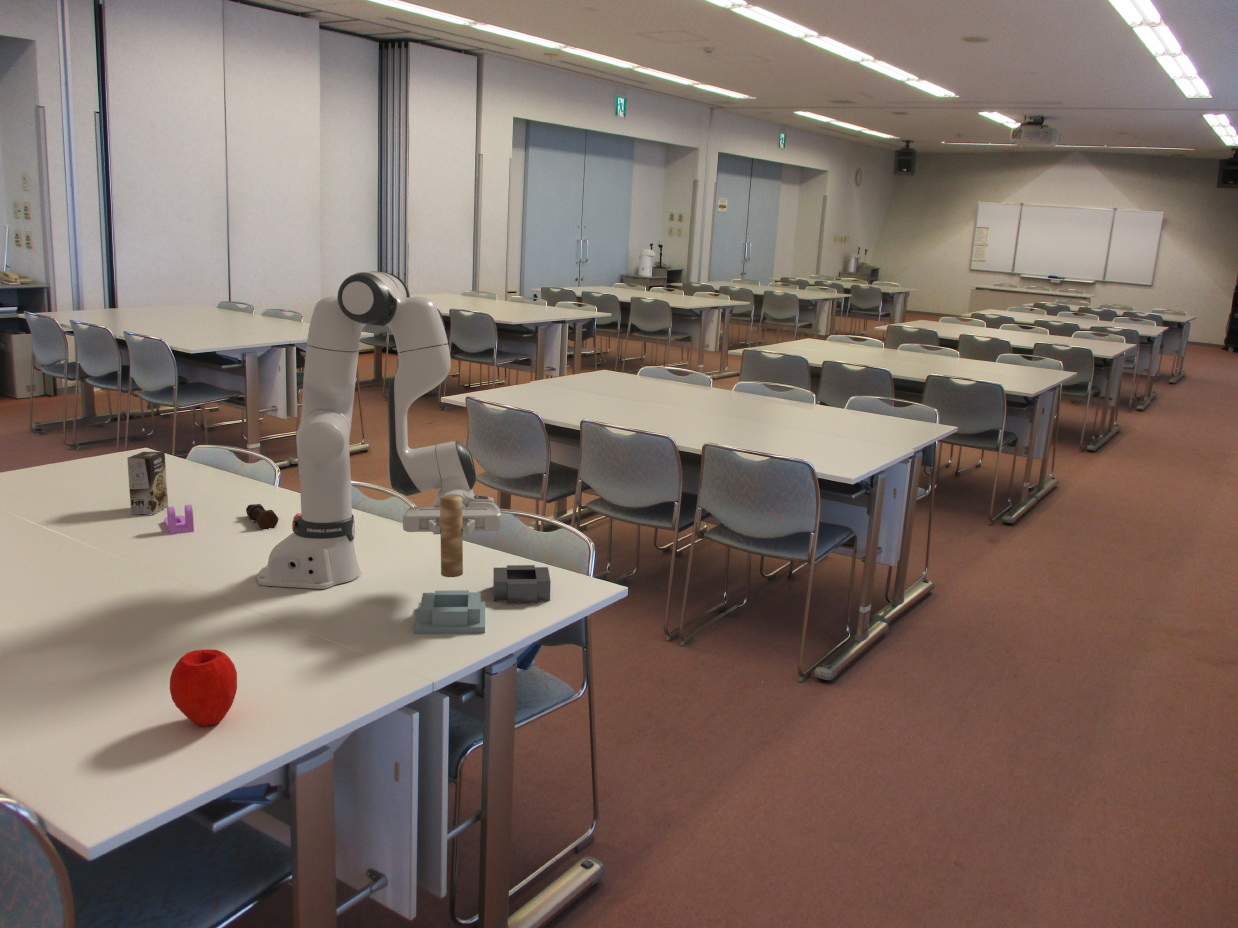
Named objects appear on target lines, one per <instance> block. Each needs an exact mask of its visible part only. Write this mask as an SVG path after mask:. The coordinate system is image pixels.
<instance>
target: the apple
mask: <svg viewBox="0 0 1238 928" xmlns="http://www.w3.org/2000/svg"><path fill="white" fill-rule="evenodd" d="M237 689H238V671H237V669H236V665H235V663H234V662H233V661H232V659H231V658H230V657H229V656H228V655H227V654H226V653H225V652H223V651H221V650H218V649H214V648H213V649H208V648H207V649H195V650H192V651H189V652H186V653H185V654H184V655H182V657H180V658H179V660H178V661H177V662H176V664H175V665H174V667H173V668H172V670H171V673H170V678H169V691H170V693H169V694H170V696H171V701H173V703H174V705H175V706H176V708H177V709H178V710H179V711H180V712H181V713H182V714H183V715H184V716H185V717H186V718H187V719H188V720H189V721H191V722H192V723H193V724H196V725H198V726H202V727H203V726H204V727H206V726H211V725H215V724H219V722H221V721H223V720H224V718H225V717H226V715H227V714H228V712H229V711H230V710H231V707H232V706H233V703H234V701H235V698H236V693H237Z"/></svg>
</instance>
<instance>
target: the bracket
mask: <svg viewBox="0 0 1238 928" xmlns="http://www.w3.org/2000/svg"><path fill="white" fill-rule="evenodd" d="M193 511H194V510H193V506H192V504H185V505H184V515H176V509H175V506H168V507H167V508H166V514H167V517H164V519H163V521H164V522H163V523H164V526H165V525H166V526H165V528H166V529H167V530H169V531H168V533H170V535H177V533H179V534H186V532H187V533H195V527H194V525H195V524H194V512H193ZM176 521H179V522H176Z"/></svg>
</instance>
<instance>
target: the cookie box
mask: <svg viewBox="0 0 1238 928" xmlns="http://www.w3.org/2000/svg"><path fill="white" fill-rule="evenodd" d="M166 466H167V465H166V452H165V451H141V452H139V453H137V454H133V455H130V456H129V457H127V470H128V471H127V473H128V486H129V487H128V489H129V500H130V501H129V503H130V514H131V515H140V514H148V515H147V516H150V515H149V514H154V515H156V514H158V513H159V511H160V510H161V511H163V510H165V509H167V508H166V507H169V498H168V482H167V469H166ZM164 508H165V509H164ZM162 509H163V510H162ZM161 511H160V512H161ZM157 512H158V513H157ZM155 513H156V514H155Z"/></svg>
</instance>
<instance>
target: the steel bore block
mask: <svg viewBox="0 0 1238 928" xmlns="http://www.w3.org/2000/svg"><path fill="white" fill-rule="evenodd" d="M492 577H493V578H492V579H493V581H492V582H493V584H492V585H493V588H492V589H493V594H492V597H493V598H494V599H493V602H506V603H507V604H510V605H511V604H512V605H513V604H537V603H538V601H537V600H550V601H551V585H552V584H551V581H552V580H551V577H550V570H549V567H547V566H545V567H544V566H543V567H541V566H540V567H539V566H536V565H535V564H528V565H527V564H517V565H514V564H513V565H511V564H510V565H506V567H493V576H492Z"/></svg>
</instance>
